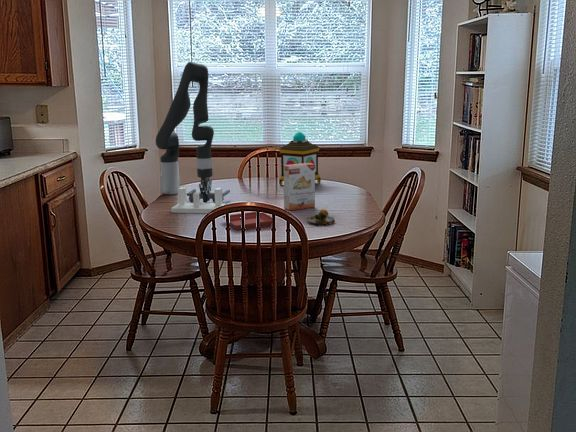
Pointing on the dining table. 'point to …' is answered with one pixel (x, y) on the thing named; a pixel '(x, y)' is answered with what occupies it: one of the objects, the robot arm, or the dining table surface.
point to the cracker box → (299, 186)
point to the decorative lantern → (299, 154)
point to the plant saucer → (250, 220)
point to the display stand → (196, 202)
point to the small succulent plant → (321, 218)
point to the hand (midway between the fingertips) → (206, 201)
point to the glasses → (209, 195)
